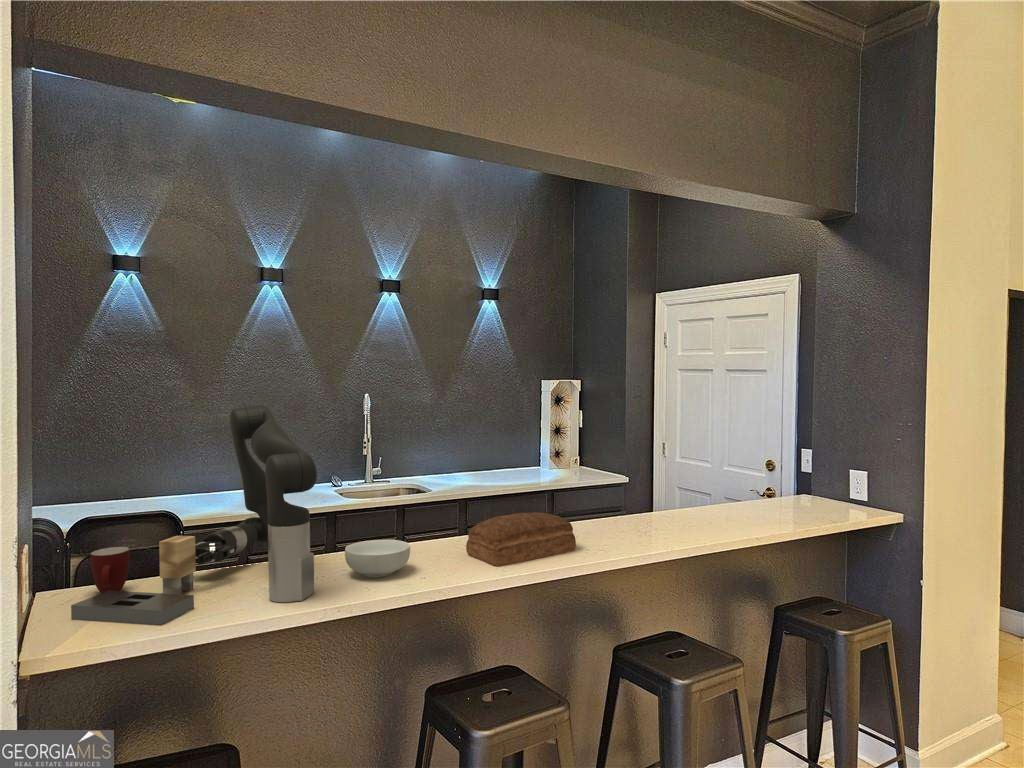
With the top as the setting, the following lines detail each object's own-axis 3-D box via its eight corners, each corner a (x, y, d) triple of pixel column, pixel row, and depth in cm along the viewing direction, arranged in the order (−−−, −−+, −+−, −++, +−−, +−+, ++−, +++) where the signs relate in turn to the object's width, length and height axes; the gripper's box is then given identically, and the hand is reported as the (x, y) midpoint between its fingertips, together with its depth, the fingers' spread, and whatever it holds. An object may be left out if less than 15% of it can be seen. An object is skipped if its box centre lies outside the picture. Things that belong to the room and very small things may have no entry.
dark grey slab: (193, 608, 146) (193, 595, 146) (161, 625, 136) (161, 610, 136) (108, 603, 150) (108, 590, 150) (71, 619, 141) (71, 605, 141)
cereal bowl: (420, 575, 169) (420, 548, 168) (357, 587, 160) (356, 558, 160) (396, 560, 183) (396, 535, 183) (337, 570, 175) (336, 543, 174)
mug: (129, 597, 154) (128, 555, 154) (88, 603, 151) (87, 559, 151) (131, 585, 164) (130, 545, 164) (92, 590, 160) (92, 549, 160)
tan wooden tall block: (196, 589, 159) (195, 536, 159) (178, 597, 154) (178, 542, 154) (177, 588, 160) (177, 535, 160) (160, 596, 155) (159, 541, 154)
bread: (463, 555, 188) (462, 515, 188) (544, 540, 205) (544, 503, 205) (495, 569, 174) (494, 526, 174) (580, 551, 191) (579, 512, 191)
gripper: (201, 528, 176) (157, 543, 160) (249, 530, 173) (209, 545, 157) (201, 556, 176) (157, 573, 160) (249, 558, 173) (209, 576, 157)
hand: (183, 559), depth 159 cm, fingers open, 8 cm apart
